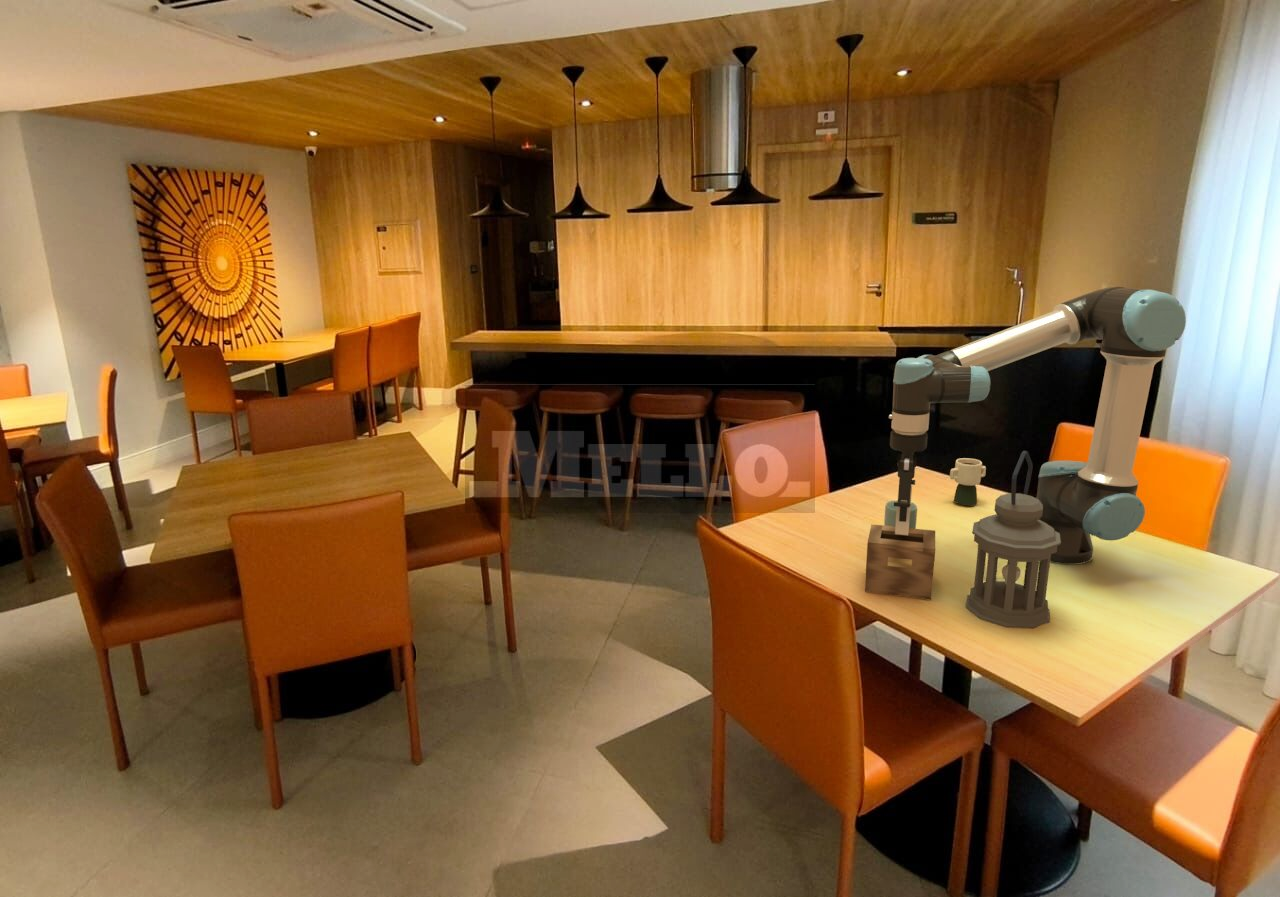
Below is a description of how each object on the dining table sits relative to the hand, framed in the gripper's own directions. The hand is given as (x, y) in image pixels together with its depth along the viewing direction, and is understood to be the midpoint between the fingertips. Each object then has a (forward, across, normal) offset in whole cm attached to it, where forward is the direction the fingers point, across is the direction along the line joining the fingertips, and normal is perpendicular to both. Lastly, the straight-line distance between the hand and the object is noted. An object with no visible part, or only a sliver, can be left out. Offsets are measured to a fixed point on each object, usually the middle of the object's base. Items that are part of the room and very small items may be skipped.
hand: (902, 522), depth 168 cm
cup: (+15, -26, -1) cm, 30 cm away
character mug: (+15, -60, +16) cm, 64 cm away
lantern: (+15, +5, +22) cm, 27 cm away
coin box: (+15, 0, 0) cm, 15 cm away
